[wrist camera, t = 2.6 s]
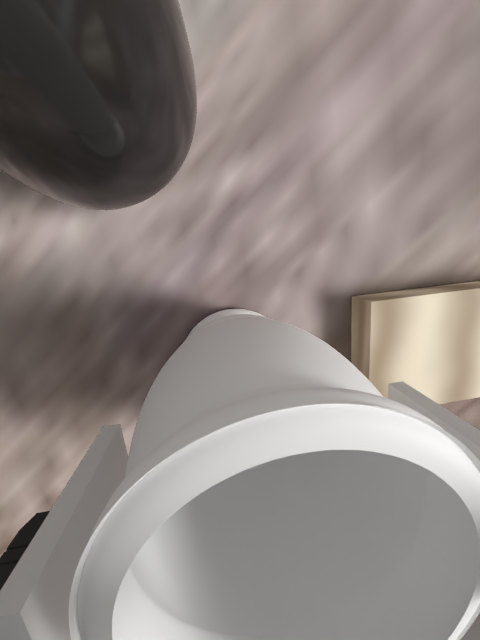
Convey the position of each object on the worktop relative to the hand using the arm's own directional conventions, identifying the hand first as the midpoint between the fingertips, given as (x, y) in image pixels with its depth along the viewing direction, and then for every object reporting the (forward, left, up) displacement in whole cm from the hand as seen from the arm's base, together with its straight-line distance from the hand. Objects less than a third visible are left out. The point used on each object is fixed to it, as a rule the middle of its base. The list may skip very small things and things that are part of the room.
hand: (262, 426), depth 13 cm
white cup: (0, 0, -8) cm, 8 cm away
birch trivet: (+16, 0, -8) cm, 18 cm away
